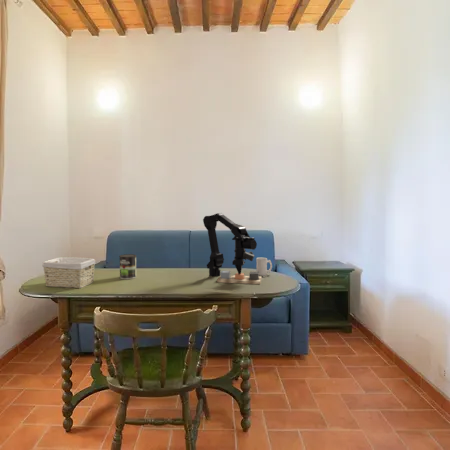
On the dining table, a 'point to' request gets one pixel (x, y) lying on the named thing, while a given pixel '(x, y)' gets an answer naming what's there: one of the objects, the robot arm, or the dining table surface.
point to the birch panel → (239, 280)
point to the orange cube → (239, 276)
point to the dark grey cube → (254, 276)
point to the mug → (263, 266)
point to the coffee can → (127, 266)
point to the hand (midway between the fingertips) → (239, 274)
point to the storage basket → (69, 272)
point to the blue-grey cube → (225, 274)
